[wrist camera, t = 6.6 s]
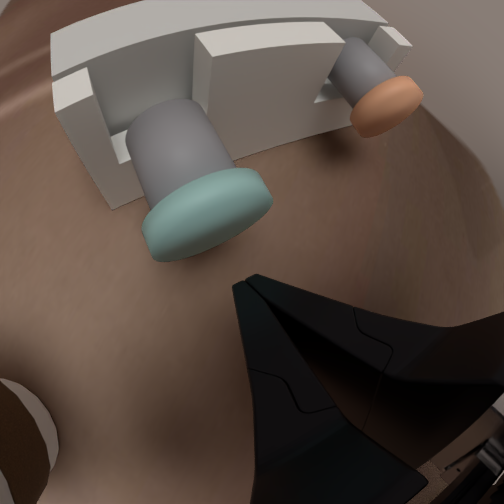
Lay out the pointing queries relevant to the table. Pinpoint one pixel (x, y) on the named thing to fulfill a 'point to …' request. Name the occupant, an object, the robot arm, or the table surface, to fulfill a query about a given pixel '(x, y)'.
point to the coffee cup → (24, 444)
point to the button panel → (207, 74)
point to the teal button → (190, 182)
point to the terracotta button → (372, 89)
